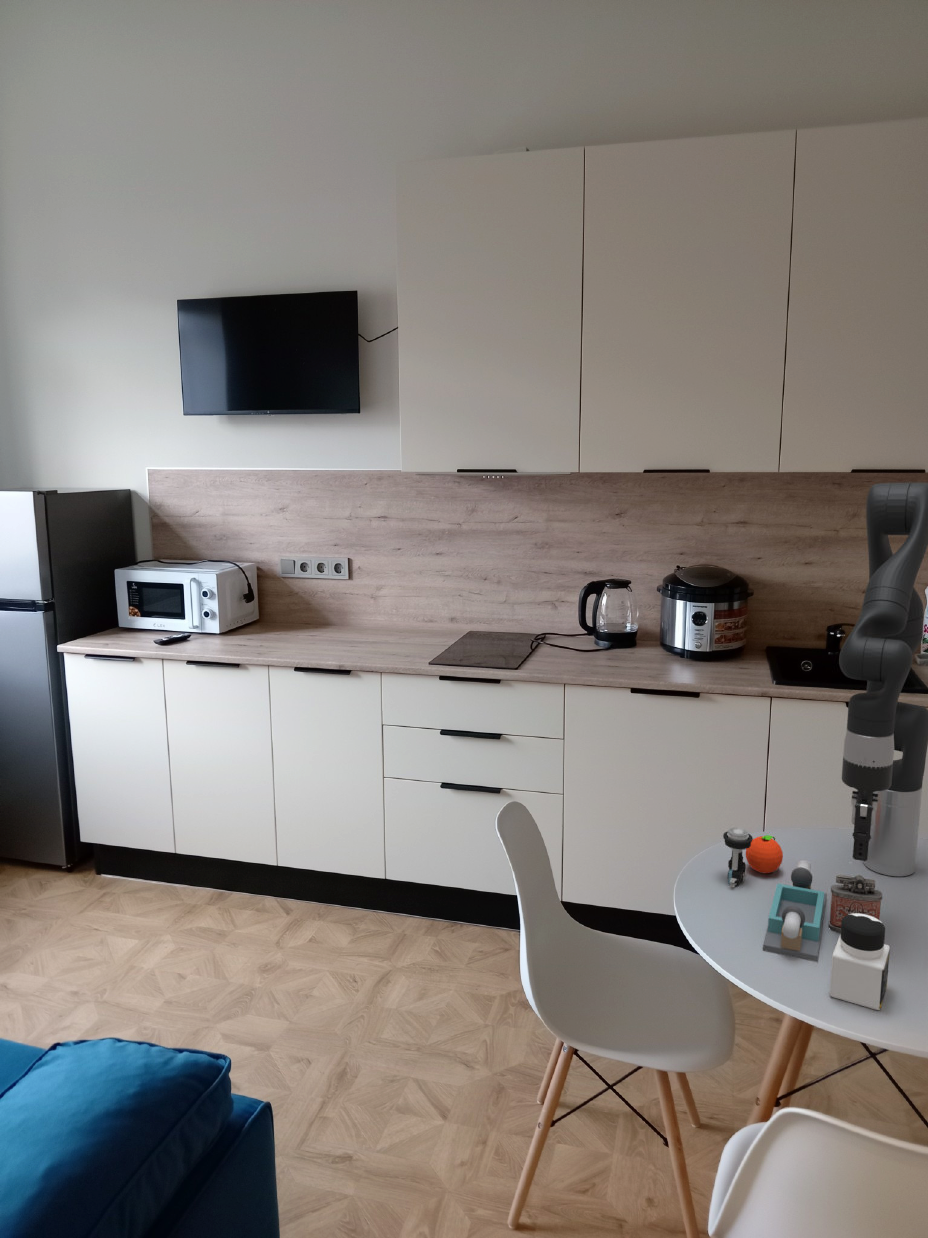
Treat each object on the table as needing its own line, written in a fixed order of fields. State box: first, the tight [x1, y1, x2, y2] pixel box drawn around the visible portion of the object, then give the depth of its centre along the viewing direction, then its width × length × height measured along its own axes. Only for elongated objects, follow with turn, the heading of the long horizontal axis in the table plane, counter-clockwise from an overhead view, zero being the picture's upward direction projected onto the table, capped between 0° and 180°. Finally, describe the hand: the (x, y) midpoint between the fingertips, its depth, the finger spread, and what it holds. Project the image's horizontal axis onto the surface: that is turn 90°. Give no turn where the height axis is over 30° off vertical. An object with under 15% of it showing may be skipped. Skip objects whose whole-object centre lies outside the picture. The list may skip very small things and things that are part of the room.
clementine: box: [745, 834, 784, 874], centre depth 175 cm, size 8×7×7 cm
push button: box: [722, 827, 754, 888], centre depth 170 cm, size 7×5×10 cm
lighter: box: [827, 874, 883, 934], centre depth 153 cm, size 8×3×10 cm, turn 71°
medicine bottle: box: [829, 913, 891, 1011], centre depth 136 cm, size 7×7×12 cm
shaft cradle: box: [762, 859, 828, 962], centre depth 156 cm, size 24×8×7 cm, turn 155°
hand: (860, 849), depth 150 cm, fingers open, 8 cm apart
